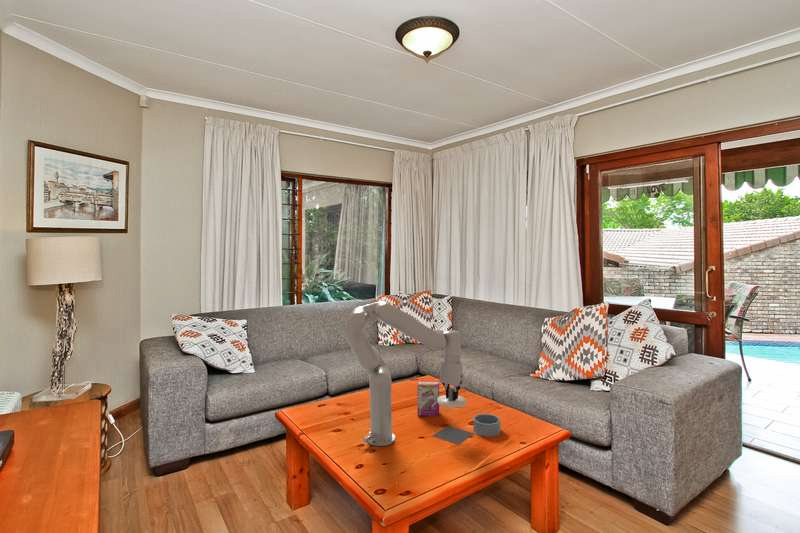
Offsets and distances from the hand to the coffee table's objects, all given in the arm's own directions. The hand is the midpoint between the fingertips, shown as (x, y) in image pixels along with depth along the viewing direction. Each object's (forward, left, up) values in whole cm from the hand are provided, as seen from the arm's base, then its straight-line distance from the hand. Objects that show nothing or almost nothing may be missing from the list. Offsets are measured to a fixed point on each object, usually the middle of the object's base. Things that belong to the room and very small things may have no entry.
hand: (451, 398), depth 187 cm
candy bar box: (+13, +23, -18) cm, 32 cm away
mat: (0, 0, -17) cm, 17 cm away
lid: (0, 0, -2) cm, 2 cm away
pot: (+13, -10, -17) cm, 24 cm away
